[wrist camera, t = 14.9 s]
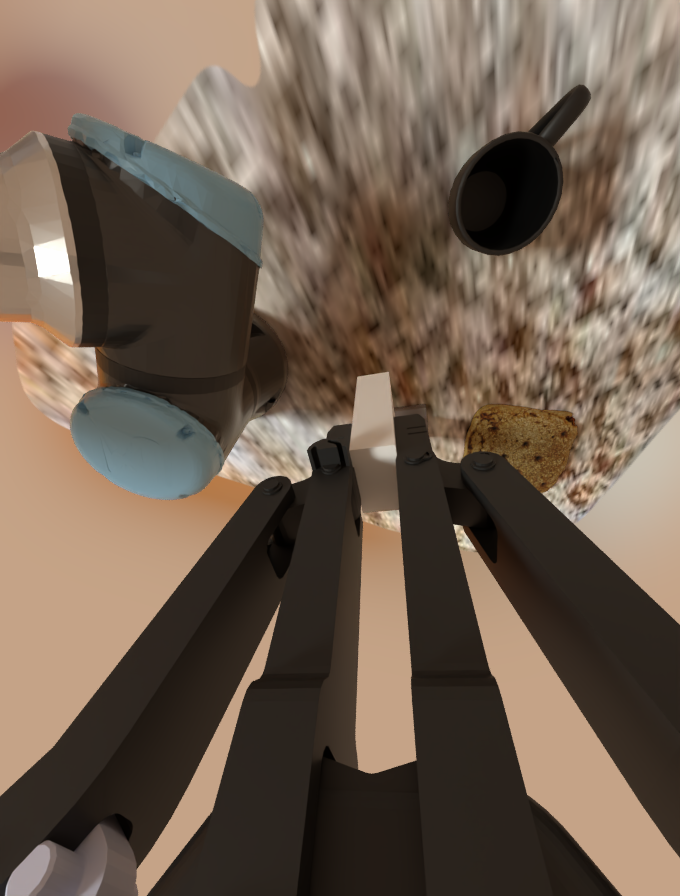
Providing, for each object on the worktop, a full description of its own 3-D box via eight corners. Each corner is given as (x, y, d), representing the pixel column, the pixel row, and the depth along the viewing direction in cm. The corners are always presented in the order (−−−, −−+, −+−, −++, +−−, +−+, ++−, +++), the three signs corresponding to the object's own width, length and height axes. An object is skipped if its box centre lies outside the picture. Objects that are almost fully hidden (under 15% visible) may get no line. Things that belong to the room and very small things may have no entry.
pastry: (598, 455, 52) (610, 467, 49) (489, 512, 59) (494, 525, 57) (540, 366, 46) (550, 375, 43) (425, 441, 53) (428, 452, 51)
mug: (574, 151, 35) (634, 130, 27) (477, 265, 40) (503, 276, 32) (514, 82, 32) (560, 38, 24) (421, 213, 38) (433, 211, 30)
